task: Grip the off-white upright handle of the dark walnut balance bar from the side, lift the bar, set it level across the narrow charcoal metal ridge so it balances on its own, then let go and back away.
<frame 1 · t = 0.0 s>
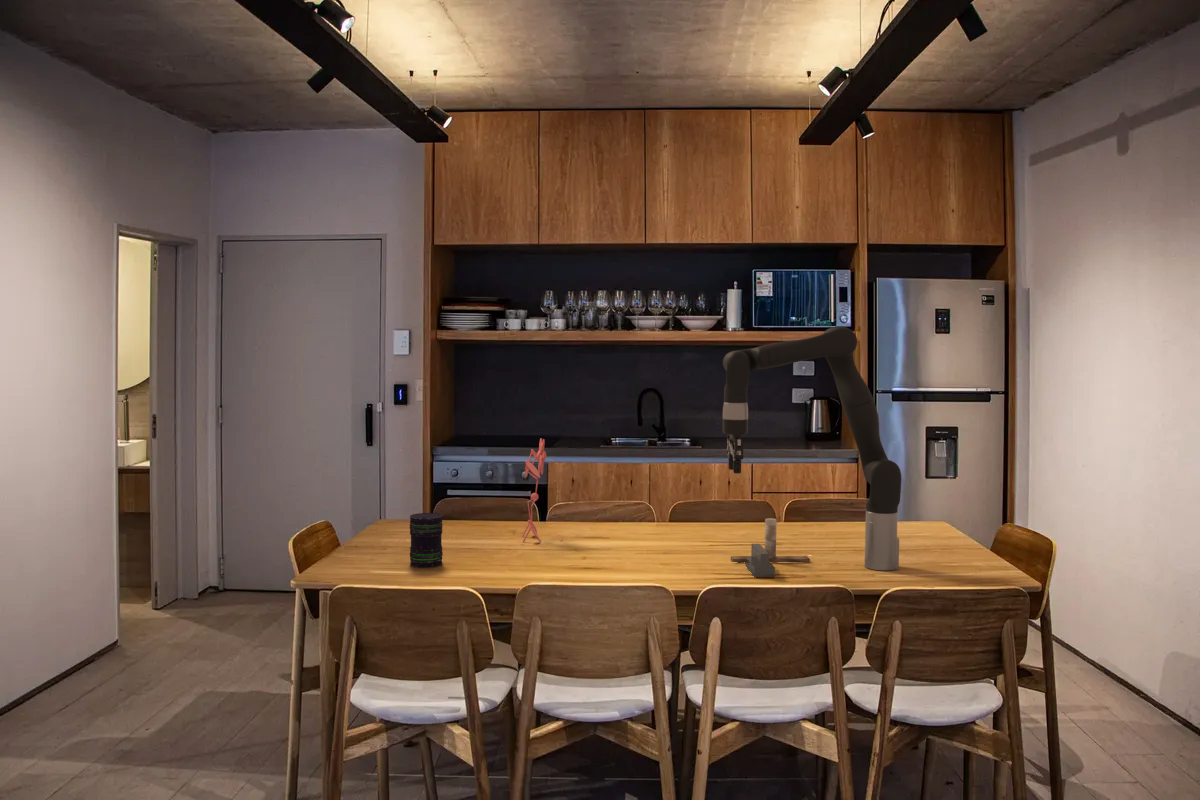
hand: (734, 471, 277), 29 cm above the table, tool pointing down, fingers open, 8 cm apart
balance bar: (770, 562, 287), on the table
figurine: (542, 539, 318), on the table
storage jar: (426, 565, 280), on the table
ridge: (759, 571, 274), on the table
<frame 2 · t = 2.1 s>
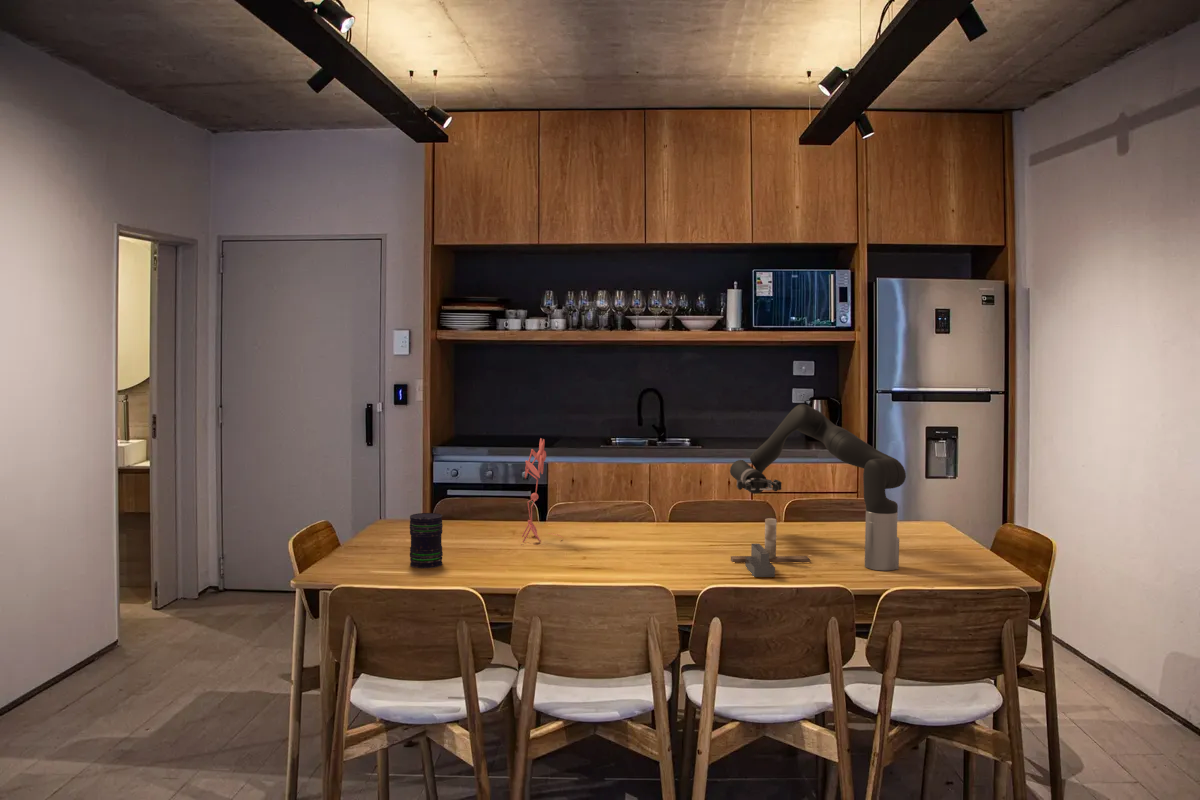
hand: (763, 488, 298), 21 cm above the table, tool horizontal, fingers open, 8 cm apart
nothing on the table moved.
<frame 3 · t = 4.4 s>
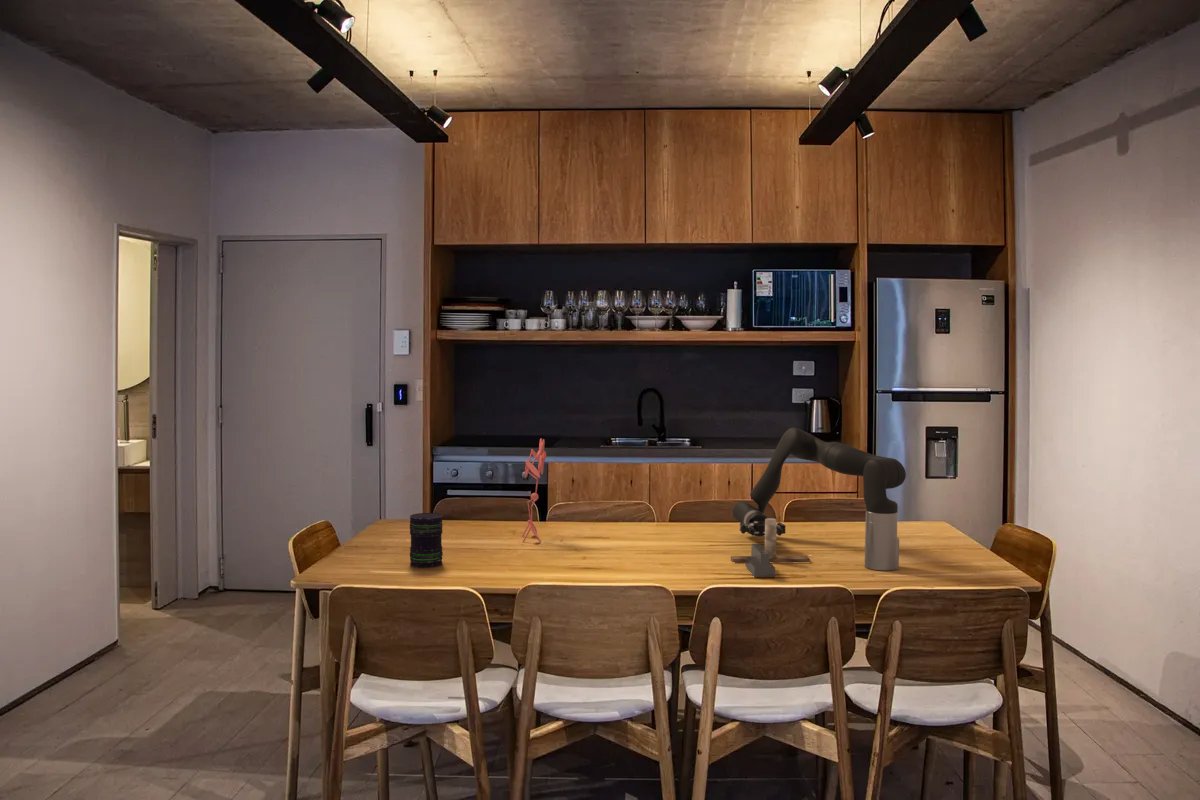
hand: (766, 532, 293), 8 cm above the table, tool horizontal, fingers open, 8 cm apart
nothing on the table moved.
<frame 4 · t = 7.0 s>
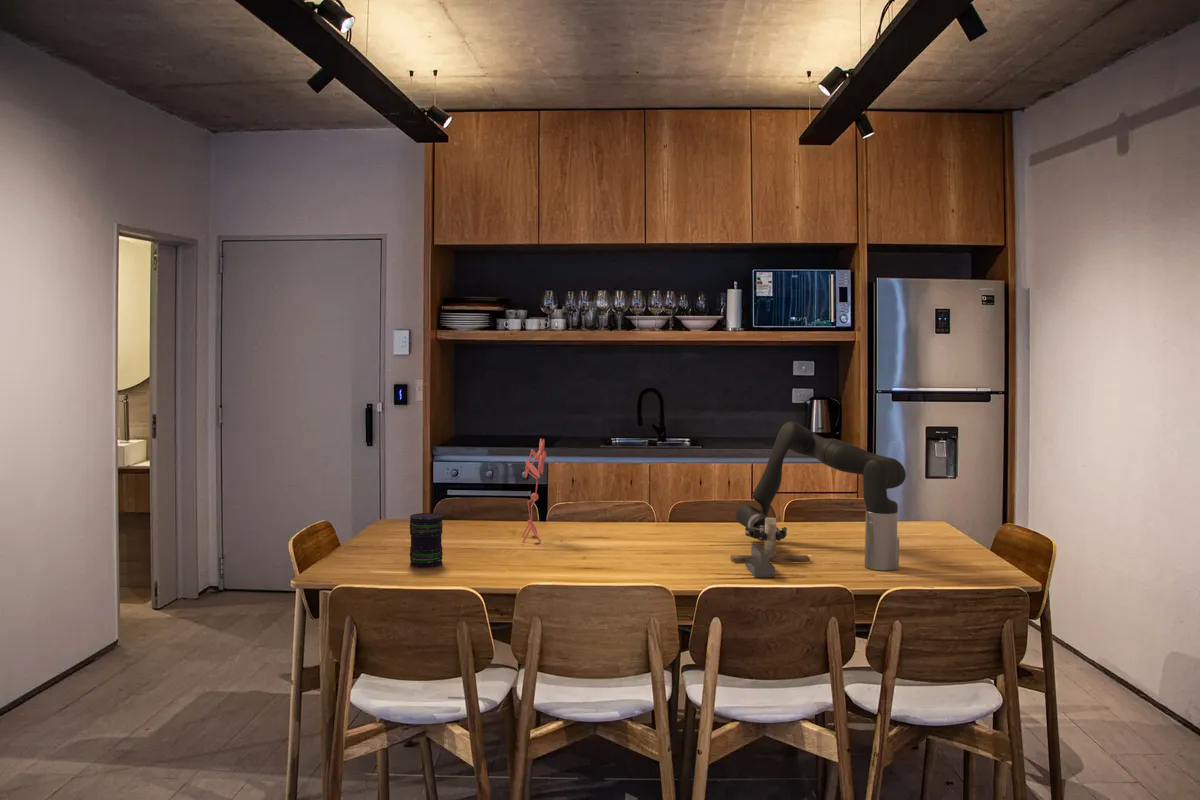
hand: (772, 537, 284), 8 cm above the table, tool horizontal, fingers closed on balance bar, 3 cm apart
balance bar: (769, 561, 287), on the table, touching gripper
everything else where it was.
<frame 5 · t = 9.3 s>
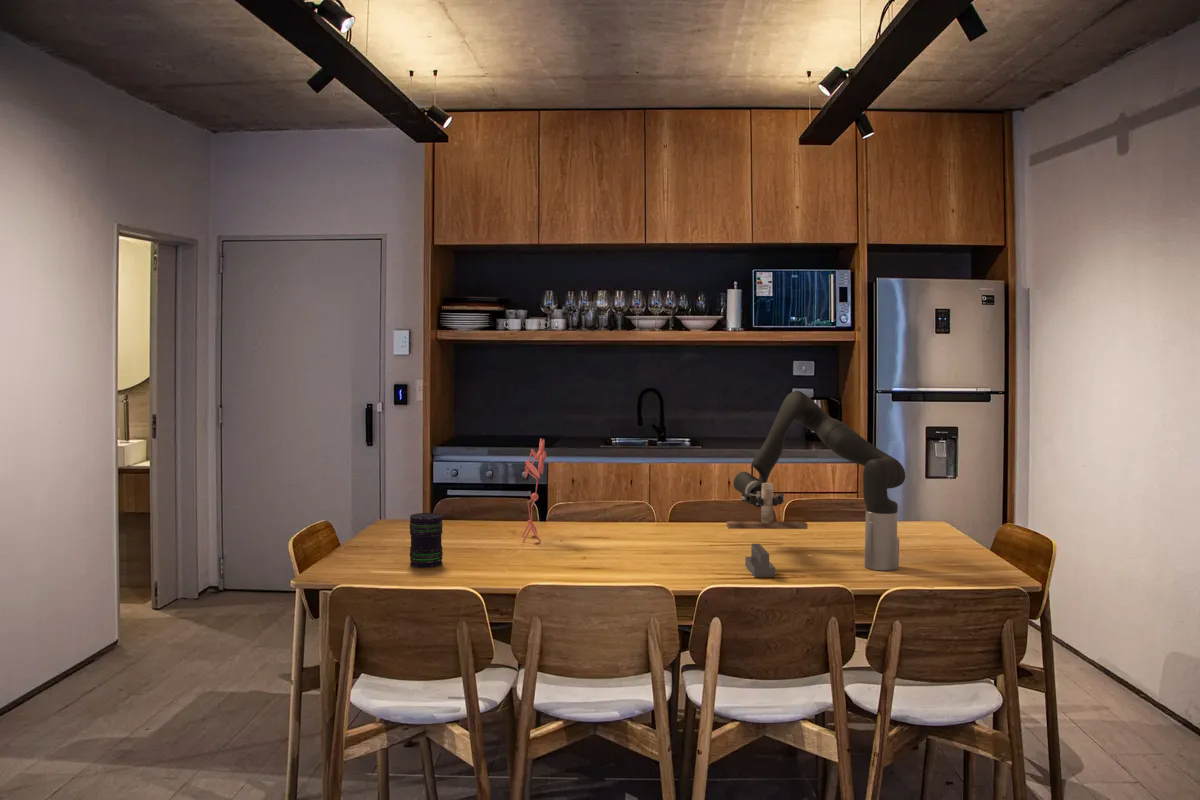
hand: (769, 502, 278), 20 cm above the table, tool horizontal, fingers closed on balance bar, 3 cm apart
balance bar: (766, 527, 282), point 12 cm above the table, touching gripper
everything else where it was.
when the fingers open (16 cm above the table, at t = 11.5 s): balance bar drops 1 cm, resting on ridge.
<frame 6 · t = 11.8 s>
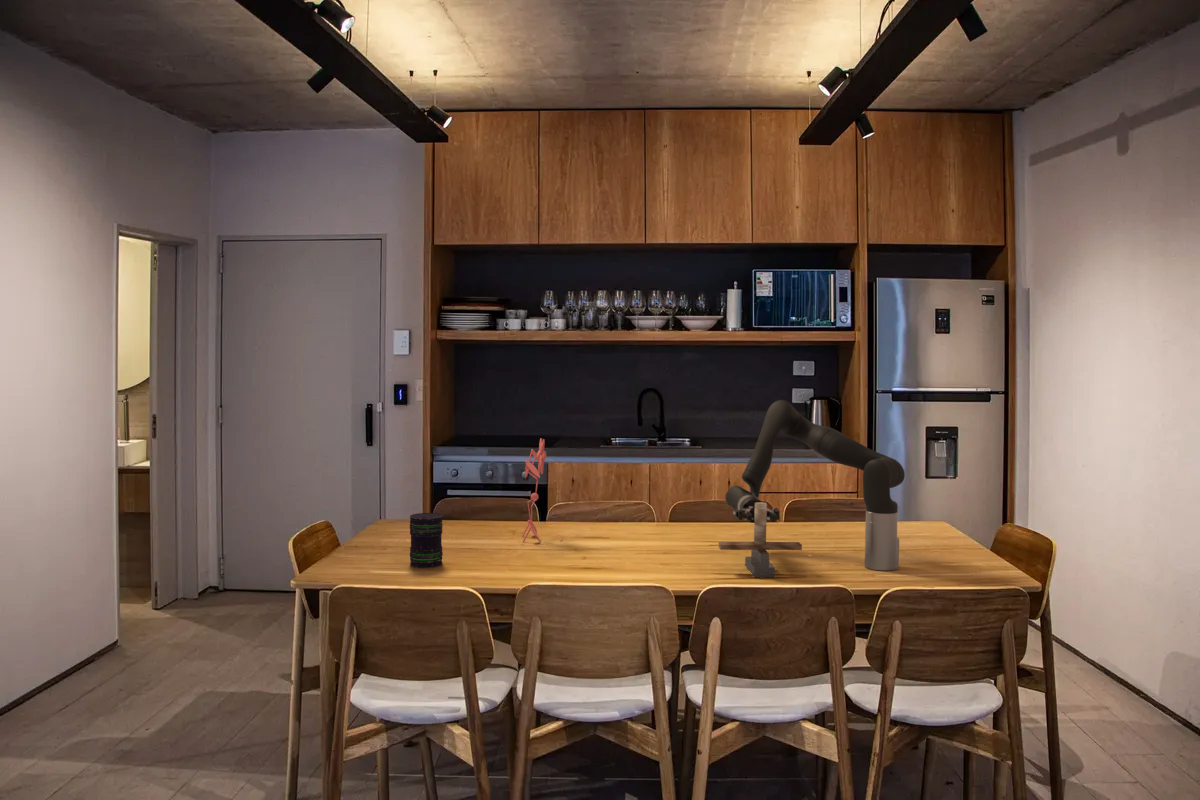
hand: (762, 518, 270), 17 cm above the table, tool horizontal, fingers open, 6 cm apart
balance bar: (759, 548, 273), point 7 cm above the table, touching ridge
everything else where it was.
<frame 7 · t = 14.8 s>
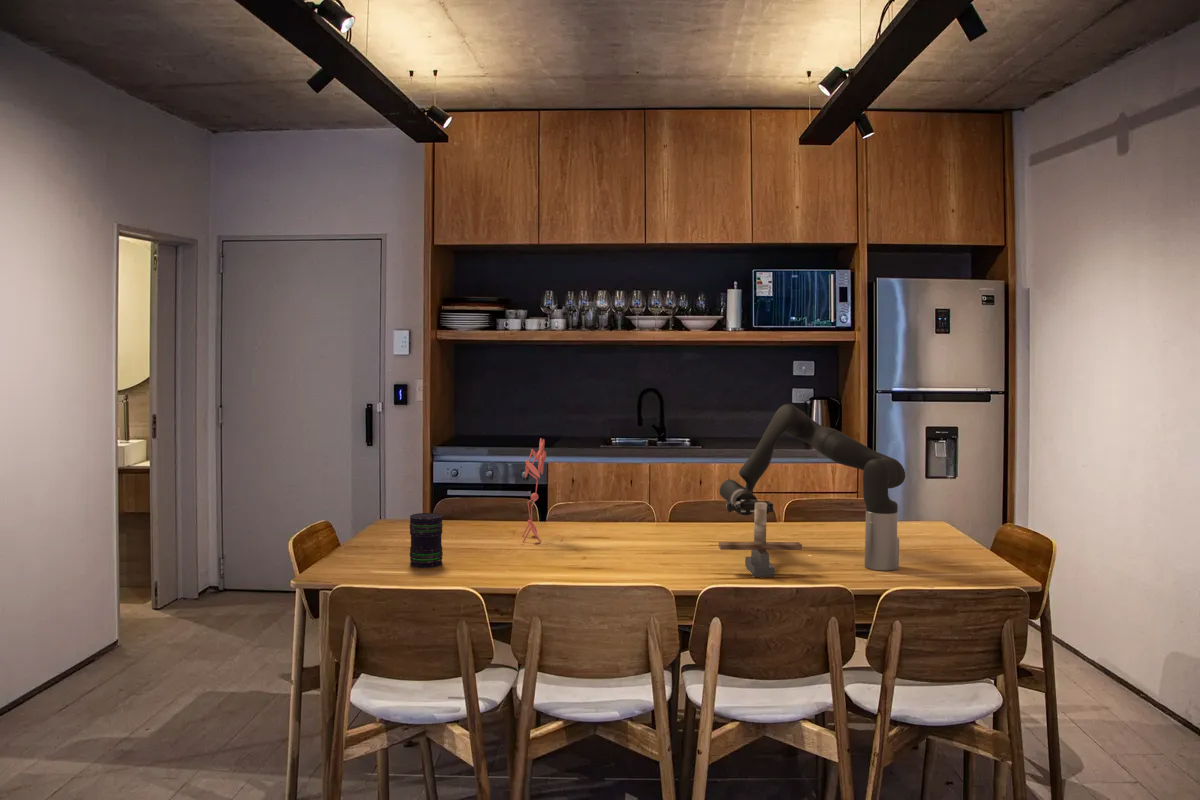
hand: (753, 510, 283), 17 cm above the table, tool horizontal, fingers open, 8 cm apart
nothing on the table moved.
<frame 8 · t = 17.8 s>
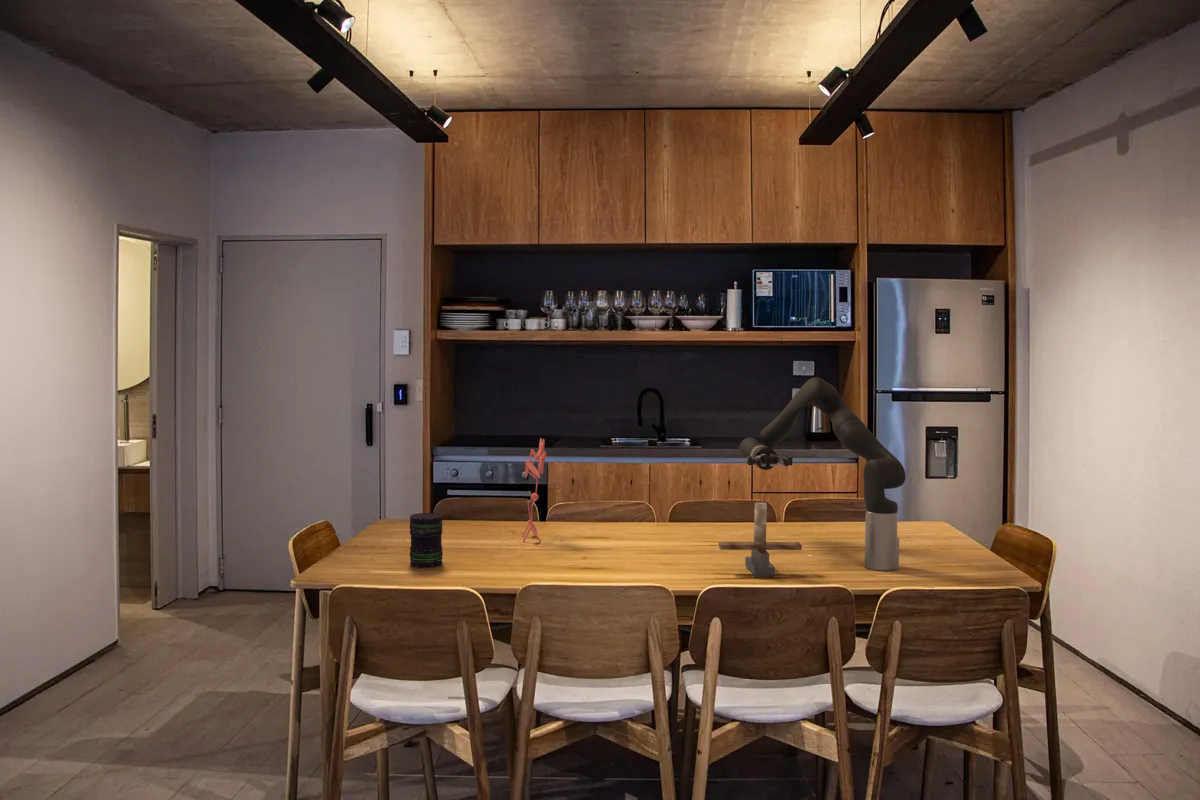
hand: (773, 463, 292), 30 cm above the table, tool horizontal, fingers open, 8 cm apart
nothing on the table moved.
at the end: balance bar inside the target area on the ridge (0.1 cm from its centre), point 7.0 cm above the ridge's base; balance bar tilted 0°; balance bar touching ridge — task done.
